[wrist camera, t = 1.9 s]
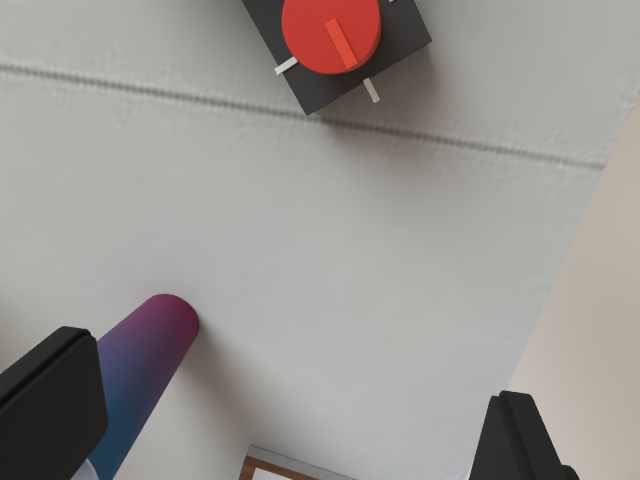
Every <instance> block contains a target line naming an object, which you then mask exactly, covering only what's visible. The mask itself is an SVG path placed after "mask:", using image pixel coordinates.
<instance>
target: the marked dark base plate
mask: <svg viewBox="0 0 640 480" xmlns="http://www.w3.org/2000/svg"><path fill="white" fill-rule="evenodd" d="M377 1H378V5H379V11H380V19H381V35H380V40H379V43H378V46H377V48H376V50H375V52H374V54H373V55H372V57H371V58H370V59H369V60H368V61H367V62H366V63H365V64H364V65H362V66H361V67H359V68H357V69H356V70H353V71H350V72H346V73H339V74H322V73H317V72H315V71H312V70H310V69H308V68H306V67H305V66H304V65H302V64H301V63H300V62H299V61H298V60H297V59H296V58H295V57H294V56H293V55H292V53H291V51H290V50H289V48H288V46H287V44H286V41H285V38H284V35H283V30H282V11H283V6H284V2H285V0H242V2H243V3H244V5H245V7H246V9H247V10H248V12H249V14H250V16H251V18H252V19H253V21H254V23H255V25H256V26H257V28H258V30H259V32H260V34H261V35H262V37H263V39H264V41H265V43H266V44H267V46H268V48H269V50H270V51H271V53H272V55H273V57H274V59H275V60H276V62H277V64H278V67H277V68H275V69H274V70H275V72H276V74H277V75H279V74H280V73H283V75H284V76H285V78H286V80H287V82H288V83H289V85H290V87H291V89H292V91H293V92H294V94H295V96H296V98H297V99H298V101H299V103H300V105H301V107H302V108H303V110H304V112H305V114H306V115H307V116H308V115H310V114H311V113H313V112H315V111H316V110H318V109H320V108H321V107H323V106H325V105H326V104H328V103H330V102H331V101H333V100H335V99H336V98H338V97H340V96H341V95H343V94H345V93H346V92H348V91H350V90H351V89H353V88H355V87H356V86H358V85H360V84H361V83H363V82H364V84H365V86H366V88H367V90H368V92H369V94H370V96H371V98H372V100H373V102H374V103H375V102H377V101H379V100H380V99H379V97H378V95H377V93H376V91H375V89H374V87H373V85H372V83H371V81H370V78H371V77H373V76H375V75H376V74H378V73H380V72H381V71H383V70H385V69H386V68H388V67H390V66H391V65H393V64H395V63H396V62H398V61H400V60H401V59H403V58H405V57H406V56H408V55H410V54H411V53H413V52H415V51H416V50H418V49H420V48H421V47H423V46H425V45H426V44H428V43H430V42H431V41H432V40H431V38H430V35H429V33H428V31H427V29H426V27H425V25H424V22H423V20H422V18H421V16H420V14H419V11H418V9H417V7H416V5H415V3H414V1H413V0H377Z"/></svg>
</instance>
